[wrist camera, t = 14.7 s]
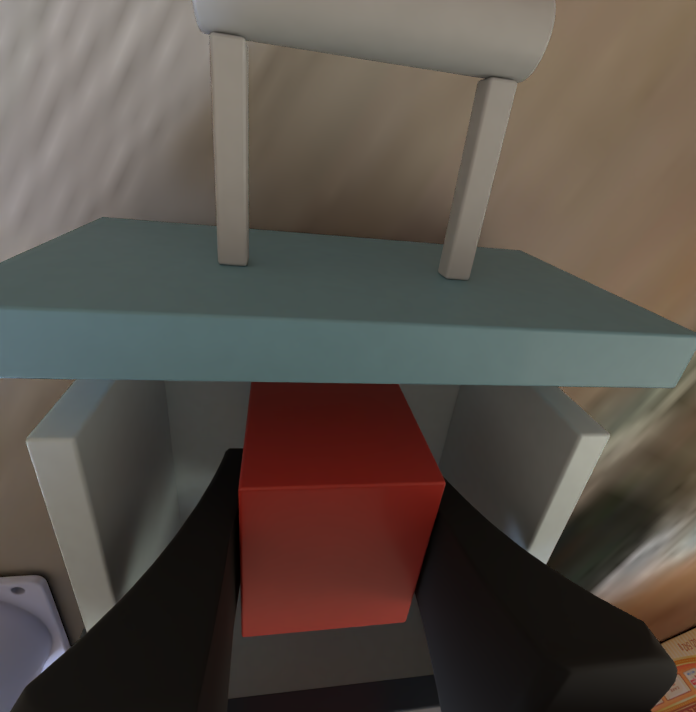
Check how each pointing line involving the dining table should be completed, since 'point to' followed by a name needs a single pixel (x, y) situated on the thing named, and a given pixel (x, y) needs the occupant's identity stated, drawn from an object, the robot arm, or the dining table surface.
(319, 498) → the red block
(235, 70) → the drawer
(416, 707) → the cabinet
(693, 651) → the coffeecake box
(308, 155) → the dining table surface
